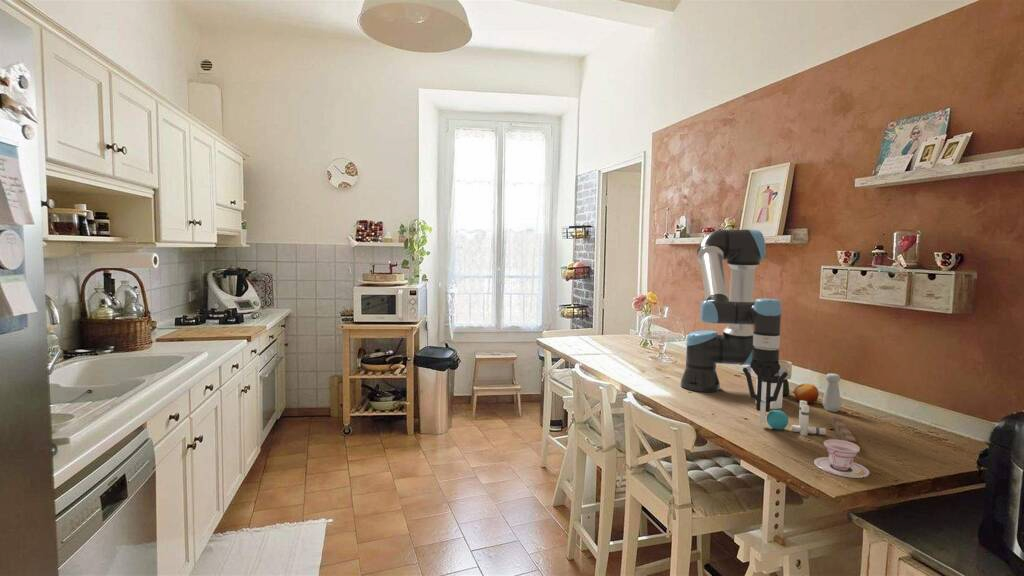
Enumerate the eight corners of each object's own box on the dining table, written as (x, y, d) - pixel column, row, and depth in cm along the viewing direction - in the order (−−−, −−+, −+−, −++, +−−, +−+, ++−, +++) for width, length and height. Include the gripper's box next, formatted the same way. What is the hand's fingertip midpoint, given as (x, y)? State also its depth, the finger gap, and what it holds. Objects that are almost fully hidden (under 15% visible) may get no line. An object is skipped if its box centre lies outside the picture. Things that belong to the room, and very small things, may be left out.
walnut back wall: (856, 452, 140) (857, 441, 140) (848, 450, 141) (848, 440, 140) (838, 425, 162) (839, 416, 162) (831, 424, 163) (832, 415, 162)
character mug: (763, 390, 203) (765, 358, 202) (781, 390, 204) (782, 359, 203) (779, 398, 192) (781, 364, 191) (797, 398, 193) (799, 364, 192)
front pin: (792, 424, 155) (826, 427, 152) (791, 424, 157) (824, 428, 154) (792, 431, 155) (826, 435, 152) (791, 431, 157) (824, 435, 153)
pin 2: (798, 433, 154) (800, 404, 154) (805, 433, 154) (806, 404, 154) (802, 435, 152) (804, 406, 151) (809, 435, 152) (811, 406, 152)
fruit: (827, 402, 183) (816, 383, 183) (806, 411, 184) (795, 392, 185) (818, 396, 191) (808, 377, 191) (799, 405, 192) (788, 387, 193)
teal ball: (767, 404, 160) (789, 407, 157) (767, 419, 163) (788, 423, 160) (765, 415, 156) (787, 419, 153) (765, 431, 158) (787, 435, 155)
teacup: (825, 455, 138) (826, 433, 137) (876, 471, 128) (878, 447, 128) (805, 466, 130) (806, 443, 130) (859, 483, 121) (860, 458, 120)
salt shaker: (843, 410, 178) (845, 374, 177) (838, 413, 174) (840, 376, 173) (824, 406, 182) (826, 371, 181) (819, 409, 178) (821, 373, 177)
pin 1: (796, 428, 159) (798, 400, 158) (803, 428, 159) (804, 400, 158) (800, 430, 157) (802, 402, 156) (807, 430, 157) (808, 402, 156)
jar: (751, 405, 183) (753, 373, 182) (758, 401, 189) (760, 369, 188) (778, 411, 176) (780, 377, 176) (785, 406, 182) (786, 373, 182)
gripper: (742, 347, 158) (739, 421, 159) (789, 351, 152) (785, 428, 153) (743, 344, 164) (740, 414, 166) (789, 347, 158) (785, 421, 160)
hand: (762, 421), depth 160 cm, fingers closed
